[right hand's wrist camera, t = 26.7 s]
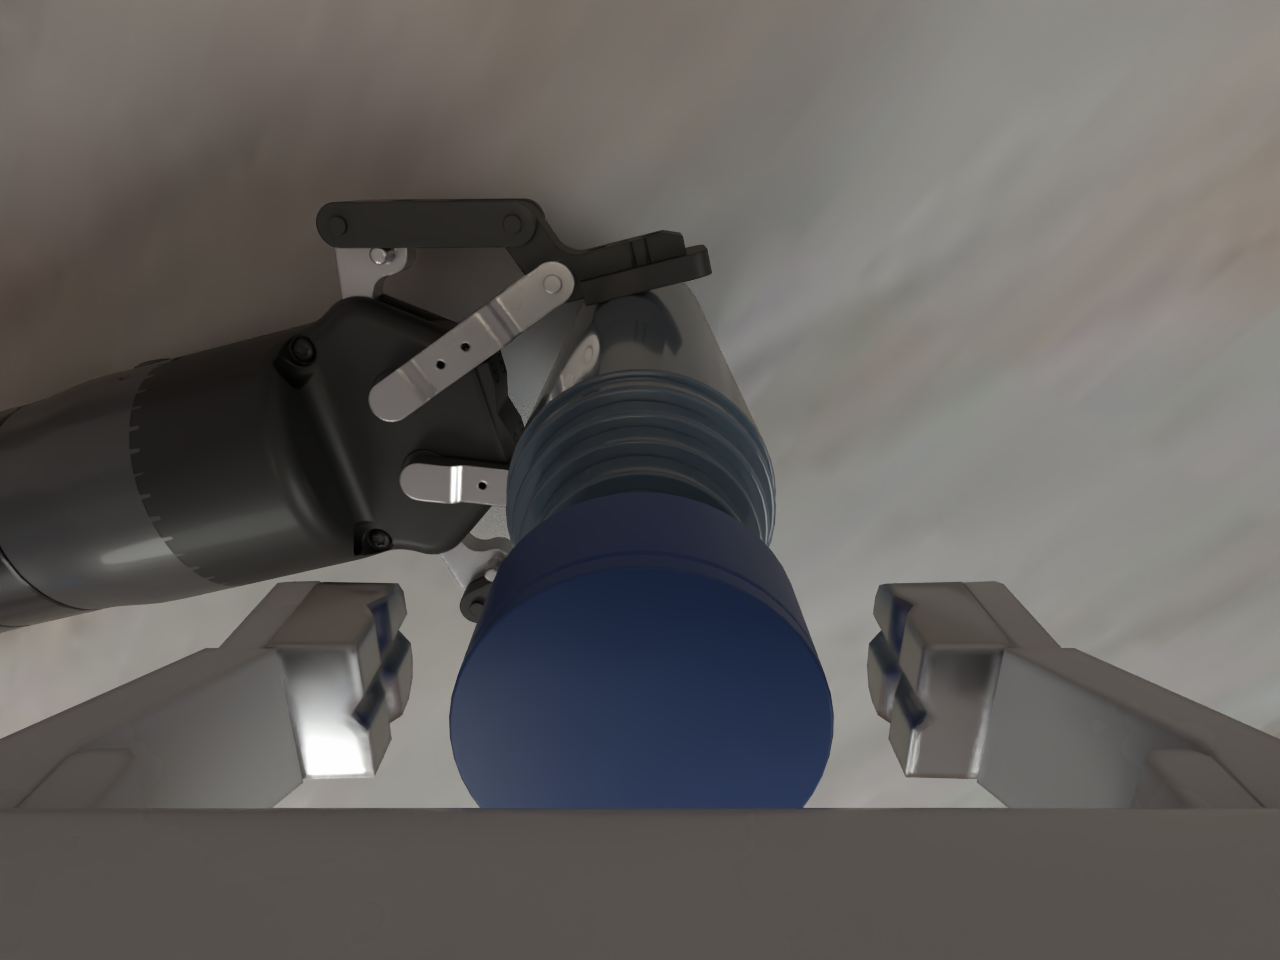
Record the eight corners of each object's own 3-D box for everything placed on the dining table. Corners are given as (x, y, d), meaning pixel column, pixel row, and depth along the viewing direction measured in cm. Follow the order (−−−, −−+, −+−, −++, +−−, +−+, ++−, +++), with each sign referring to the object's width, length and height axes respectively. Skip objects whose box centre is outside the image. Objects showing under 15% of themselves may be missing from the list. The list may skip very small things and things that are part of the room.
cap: (854, 557, 10) (905, 648, 8) (719, 794, 11) (736, 919, 9) (545, 440, 9) (521, 508, 7) (445, 706, 10) (402, 820, 9)
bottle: (717, 279, 29) (916, 541, 8) (689, 404, 31) (793, 882, 10) (587, 254, 29) (447, 458, 8) (567, 381, 30) (407, 827, 10)
